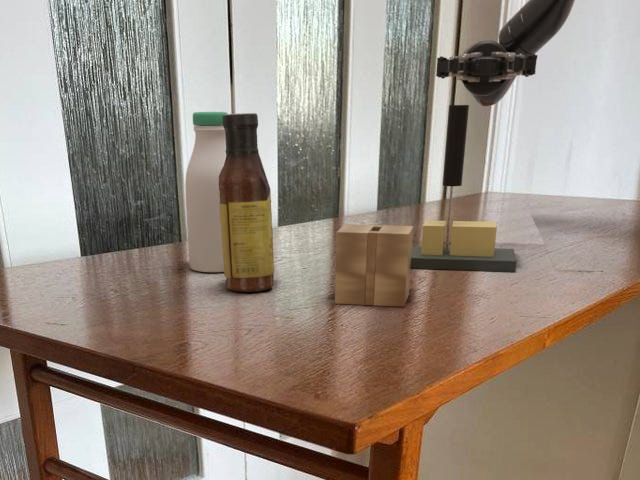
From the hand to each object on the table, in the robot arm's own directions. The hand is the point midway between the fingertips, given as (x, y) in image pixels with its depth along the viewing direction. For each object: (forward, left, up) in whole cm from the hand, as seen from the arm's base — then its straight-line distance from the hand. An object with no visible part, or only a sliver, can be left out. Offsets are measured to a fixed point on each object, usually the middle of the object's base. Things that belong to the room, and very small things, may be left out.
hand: (486, 63), depth 106 cm
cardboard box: (+11, +36, -26) cm, 45 cm away
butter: (+2, +11, -26) cm, 28 cm away
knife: (+3, +11, -24) cm, 27 cm away
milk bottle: (+35, +21, -26) cm, 48 cm away
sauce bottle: (+27, +33, -26) cm, 50 cm away
